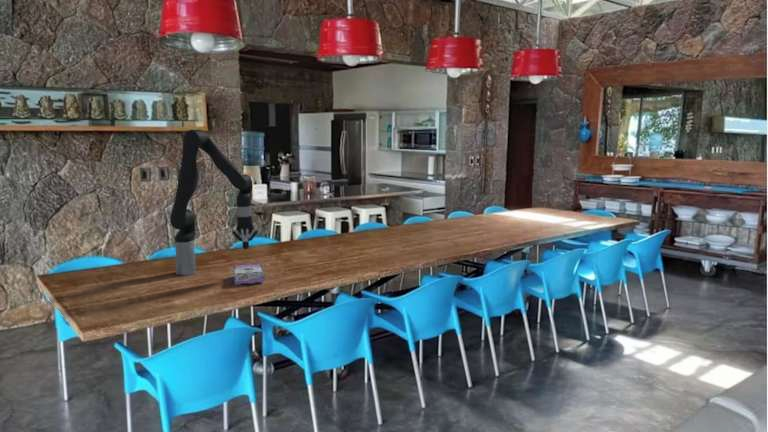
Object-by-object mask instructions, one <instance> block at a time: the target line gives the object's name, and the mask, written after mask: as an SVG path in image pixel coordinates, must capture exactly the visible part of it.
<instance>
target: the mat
mask: <svg viewBox="0 0 768 432" xmlns="http://www.w3.org/2000/svg"><path fill="white" fill-rule="evenodd" d="M265 279H266V275H263V282H265ZM226 283H235V282H234V276H229V277H228V278H227V280H226Z"/></svg>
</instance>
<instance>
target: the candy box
mask: <svg viewBox="0 0 768 432" xmlns="http://www.w3.org/2000/svg"><path fill="white" fill-rule="evenodd" d="M263 276H264V270H263V266H262V264H261V263H256V264H255V263H254V264H253V263H252V264H240V265H239V264H238V265H236V264H235V265H233V277H234V282H233V283H234V285H237V286H239V285H248V284H249V285H250V284H261V283H264V281H263Z"/></svg>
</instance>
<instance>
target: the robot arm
mask: <svg viewBox="0 0 768 432" xmlns="http://www.w3.org/2000/svg"><path fill="white" fill-rule="evenodd" d="M199 149H200V150H202V151H203V152H205V153H206V154H207V155H208V156H209V157H210V159H211V160H212V162H213V164H214V165H215V167H216V168H217V170H219V171H220V172H221V173H222V175H224V176H226V178H227V179H228V181H229V182H230V184H231V185H232V186H233V187H234V188H235V189H237V190H238V194H237V195H236V228H235V229H234V230H233V231H232V232H231V233H232V235H233V236H234V237H235V238H236V239H237V240H238V241H239V242H242V249H243V250H248V249H249V248H250V241H252V240H253V239H254V238H255V236H256V235H257V234H258V233H259V230H258V229H256V228H255V227H254V224H253V223H254V222H253V208H252V193H253V180H252V177H251V176H250V175H249V174H242V173H240V172H239V169H238V166H237V165H236V164H235V163H234V162H233V161H231V159H229V158H228V157H227V156H226V155H225V154H224V153H223V152H222V151H221V149H219V148H218V146H217V145H216V144H215V143H214V142H213V140H212V139H211V138H210V136H209V135H208V134H207V133H206V131H204V130H202V129H200V128H199V129H189V130H187V131H186V132H185V134H184V136H183V138H182V155H181V162H180V167H179V168H180V169H179V173H178V180H177V188H176V192H175V198H174V202H173V206H172V210H171V213H170V217H169V219H170V220H169V221H170V225H171V227H172V228H173V229H174V230H178V233H176V234H175V236H174V246H175V248H174V249H175V256H174V263H175V275H176V276H178V275H179V276H190V275H194V274H195V273H196V272H197V268H196V267H197V266H196V253H195V235H196V218H195V214H194V213H193V211H192V210H190V209H188V205H189V202H190V200H191V198H192V197H193V196H194V194H195V192H196V190H197V187H198V182H199V176H200V174H199V169H198V164H197V156H198V152H199ZM238 233H239V234H238ZM251 233H252V235H251V236H250V234H251ZM240 235H241V236H240Z"/></svg>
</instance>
